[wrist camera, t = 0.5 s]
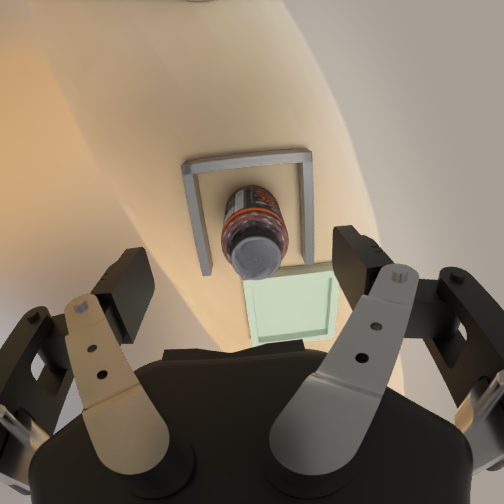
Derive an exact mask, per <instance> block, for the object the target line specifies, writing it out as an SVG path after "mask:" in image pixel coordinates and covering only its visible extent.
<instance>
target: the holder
mask: <svg viewBox="0 0 504 504" xmlns="http://www.w3.org/2000/svg"><path fill="white" fill-rule="evenodd" d="M286 163H298V166H299V186H300V210H301V244H302V257H303V260H304V262H305V265H314V193H313V164H312V152H311V151H310V150H308V149H307V148H304V149H288V150H275V151H263V152H253V153H243V154H234V155H226V156H218V157H210V158H203V159H196V160H190V161H185V162H184V163H183V164H182V165H181V168H182V174H183V180H184V186H185V191H186V197H187V202H188V207H189V213H190V218H191V223H192V228H193V233H194V238H195V243H196V247H197V252H198V257H199V261H200V266H201V271H202V275H203V276H210V275H211V273H212V266H213V263H212V258H211V252H210V247H209V242H208V236H207V231H206V225H205V220H204V214H203V208H202V202H201V196H200V190H199V184H198V178H197V173H203V172H210V171H218V170H226V169H234V168H243V167H252V166H262V165H274V164H286Z"/></svg>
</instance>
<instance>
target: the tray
mask: <svg viewBox="0 0 504 504" xmlns="http://www.w3.org/2000/svg"><path fill="white" fill-rule="evenodd" d="M242 278H243V287H244V294H245V301H246V308H247V315H248V322H249V329H250V335H251V342H252V347H256V346H259V345H263V344H266V343H273V342H282V341H290V340H298V339H303V342H310V341H317V340H324V339H330V338H334V331H335V323H336V314H337V304H338V293H339V283H338V281H337V279H336V277H335V275H334V272H333V266H332V262H327V263H318V264H314V265H300V266H291V267H282V268H278V270H277V271H276V272H275V273H274V274H273V275H271V276H270V277H268V278H266V279H262V280H249V279H246V278H244V277H242Z"/></svg>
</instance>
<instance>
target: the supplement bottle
mask: <svg viewBox="0 0 504 504" xmlns="http://www.w3.org/2000/svg"><path fill="white" fill-rule="evenodd" d="M288 243H289V239H288V233H287V230H286V226H285V223H284V220H283V218H282V215H281V212H280V208H279V206H278V203H277V201H276V199H275V198H274V197H273V195H272V194H271V193H270V192H269V191H267V190H265V189H263V188H260V187H255V186H249V187H245V188H242V189H240V190H238V191H236V192H235V193H234V194H233V195H232V196H231V197H230V199H229V201H228V203H227V206H226V210H225V217H224V223H223V230H222V237H221V246H222V251H223V254H224V256H225V257H226V259H227V260H228V261H229V263H230V264H231V265H232V266H233V268H234V270H235V271H236V272H237V273H238V274H239V275H240V276H241V277H244V278H246V279H249V280H262V279H266V278H268V277H270V276H271V275H273V274H274V273H275V272H276V271H277V270H278V268H279V266H280V264H281V260H282V259H283V258H284V256H285V254H286V252H287V249H288Z"/></svg>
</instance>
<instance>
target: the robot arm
mask: <svg viewBox="0 0 504 504" xmlns="http://www.w3.org/2000/svg"><path fill="white" fill-rule="evenodd" d="M188 1H197V2H202V1H211V0H188ZM332 266H333V272H334V275H335V277H336V279H337V281H338V283H339V285H340V287H341V288H342V290H343V292H344V294H345V296H346V298H347V300H348V302H349V304H350V306H351V308H352V310H353V312H352V314H351V316H350V317H349V319H348V321H347V323H346V324H345V326H344V328H343V329H342V331H341V333H340V334H339V336H338V338H337V339H336V341H335V343H334V344H333V346H332V348H331V349H330V351H329V352H328V353H326V352H323V351H319V350H312V349H305V347H304V343H303V339H298V340H290V341H282V342H273V343H266V344H263V345H259V346H256V347H252V348H249V349H245V350H242V351H238V352H234V353H226V352H217V351H210V350H203V349H171V350H164V353H163V357H162V360H158V361H155V362H152V363H149V364H147V365H144V366H142V367H140V368H138V369H137V370H135V371H134V372H133V370H132V368H131V367H130V365H129V363H128V361H127V359H126V357H125V356H124V354H123V352H122V350H121V348H120V346H121V344H133V343H134V340H135V338H136V335H137V332H138V330H139V327H140V325H141V322H142V320H143V317H144V315H145V312H146V310H147V308H148V305H149V303H150V300H151V298H152V296H153V293H154V288H155V285H154V278H153V275H152V272H151V268H150V265H149V261H148V258H147V254H146V251H145V249H144V248H143V247H138V248H130V249H126V250H125V251H124V253H123V254H122V255H121V257H120V258H119V259H118V261H116V262H115V263H114V264H112V265H111V266H110V267H109V268H108V269H107V270H106V272H105V273H104V275H103V276H102V277H101V279H100V281H99V282H98V283H97V284H96V286H95V287H94V289H93V290H92V291H91V293H90V294H84V295H81V296H78V297H76V298H74V299H73V300H71V301H70V302H69V303H68V304H67V305H66V307H65V309H64V312H65V313H64V314H60V315H56V316H52V317H51V315H50V313H49V311H48V309H47V308H46V307H44V306H40V307H36V308H33V309H31V310H30V311H28V312H27V313H26V314H25V315H24V316H23V317H22V318H21V320H20V321H19V322H18V324H17V325H16V327H15V328H14V330H13V331H12V333H11V334H10V335H9V337H8V338H7V340H6V341H5V343H4V345H3V346H2V348H1V349H0V481H1V482H2V483H4V484H6V485H8V486H10V487H11V488H13V489H15V490H16V491H18V492H19V493H21V494H24V495H31V501H32V504H470V489H471V480H472V476H474V475H476V474H478V473H480V472H481V471H483V470H485V469H486V470H489V471H497V470H499V469H501V468H502V467H504V310H503V309H502V308H501V307H500V306H499V304H498V303H497V302H496V301H495V300H494V299H493V298H492V297H491V295H490V294H489V293H488V292H487V291H486V290H485V289H484V288H483V287H482V286H481V285H480V284H479V282H477V280H476V279H475V278H474V277H473V276H472V275H471V274H469V273H468V272H467V271H465V270H463V269H461V268H457V267H445V268H443V269H442V270H441V271H440V274H439V278H438V280H429V279H427V280H426V279H419V274H418V273H417V271H415V270H414V269H413V268H411V267H409V266H407V265H403V264H395V263H394V262H393V261H392V260H391V259H390V258H389V256H388V255H387V254H386V253H385V252H383V250H382V249H381V247H379V245H378V244H377V243H376V242H375V241H374V240H373V239H371V238H369V237H367V236H365V235H360V234H359V233H358V232H357V230H356V229H355V228H354V227H353V226H352V225H347V226H336V227H334V229H333V249H332ZM460 323H462V324H463V326H464V327H465V329H466V333H467V340H465V339H464V337H463V336H462V334H461V333H460V331H459V330H458V328H459V325H460ZM403 338H423V341H424V342H425V344H426V346H427V348H428V350H429V351H430V354H431V355H432V357H433V359H434V361H435V363H436V365H437V367H438V369H439V371H440V373H441V375H442V377H443V379H444V381H445V383H446V385H447V387H448V389H449V391H450V393H451V395H452V397H453V400H454V402H455V404H456V406H457V408H458V410H457V411H456V414H455V425H453V424H452V423H450V422H449V421H447V420H445V419H443V418H441V417H439V416H438V415H436V414H434V413H432V412H430V411H429V410H427V409H425V408H423V407H422V406H420V405H418V404H416V403H415V402H413V401H411V400H409V399H408V398H406V397H404V396H402V395H401V394H399V393H397V392H396V391H394V390H392V389H391V388H389V387H387V384H388V382H389V379H390V376H391V374H392V371H393V368H394V365H395V363H396V360H397V357H398V354H399V351H400V348H401V344H402V341H403ZM37 353H38V354H39V356H40V357H41V359H42V360H43V362H44V363H45V366H44V368H43V370H42V372H41V374H40V376H39V378H38V380H37V381H36V380H35V378H34V377H33V375H32V372H31V363H32V361H33V359H34V357H35V356H36V354H37ZM73 378H75V381H76V384H77V388H78V391H79V395H80V398H81V401H82V404H83V407H84V409H83V411H82V413H81V414H80V415H79V416H77V417H76V418H75V419H73V420H72V421H71V422H70V423H68V424H67V425H66V426H64V427H63V428H62V429H61V430H59V431H58V432H57V433H55V435H53V433H54V430H55V427H56V424H57V421H58V418H59V415H60V413H61V410H62V407H63V404H64V401H65V399H66V396H67V393H68V391H69V388H70V386H71V383H72V381H73Z"/></svg>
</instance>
